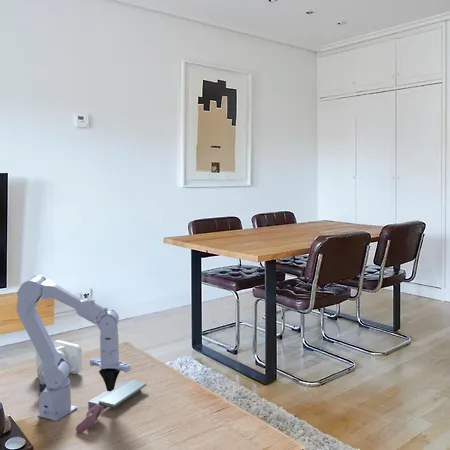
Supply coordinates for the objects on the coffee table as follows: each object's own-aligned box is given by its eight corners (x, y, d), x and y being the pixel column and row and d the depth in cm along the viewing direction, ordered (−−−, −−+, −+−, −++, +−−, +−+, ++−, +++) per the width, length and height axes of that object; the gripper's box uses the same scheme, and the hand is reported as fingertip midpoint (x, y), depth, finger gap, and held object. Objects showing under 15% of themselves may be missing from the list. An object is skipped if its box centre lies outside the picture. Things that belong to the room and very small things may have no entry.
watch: (64, 389, 173) (63, 359, 172) (44, 397, 167) (43, 366, 166) (54, 385, 176) (53, 355, 175) (34, 393, 170) (33, 362, 169)
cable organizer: (34, 376, 185) (33, 346, 184) (57, 366, 194) (56, 338, 193) (61, 384, 178) (60, 353, 176) (84, 374, 187) (82, 344, 185)
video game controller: (87, 439, 143) (97, 418, 142) (73, 431, 143) (83, 411, 142) (99, 422, 153) (108, 403, 152) (86, 415, 153) (95, 396, 152)
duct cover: (114, 407, 155) (114, 404, 155) (98, 403, 157) (98, 400, 157) (146, 385, 171) (146, 383, 171) (132, 381, 173) (132, 379, 173)
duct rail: (107, 412, 156) (107, 405, 156) (88, 407, 159) (88, 400, 159) (140, 390, 172) (140, 383, 172) (122, 386, 175) (122, 380, 175)
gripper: (83, 349, 156) (84, 390, 157) (120, 356, 150) (121, 399, 151) (97, 342, 162) (98, 382, 163) (134, 349, 156) (134, 390, 157)
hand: (110, 390), depth 158 cm, fingers closed
